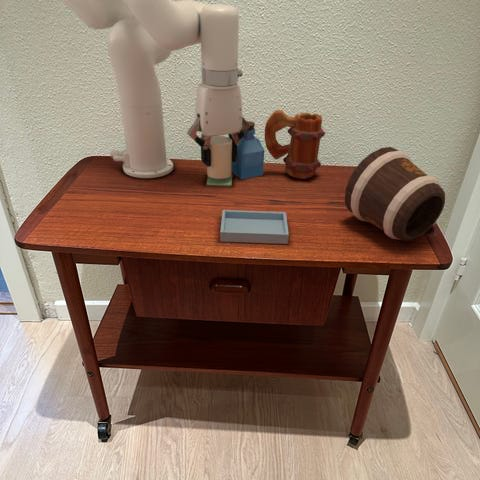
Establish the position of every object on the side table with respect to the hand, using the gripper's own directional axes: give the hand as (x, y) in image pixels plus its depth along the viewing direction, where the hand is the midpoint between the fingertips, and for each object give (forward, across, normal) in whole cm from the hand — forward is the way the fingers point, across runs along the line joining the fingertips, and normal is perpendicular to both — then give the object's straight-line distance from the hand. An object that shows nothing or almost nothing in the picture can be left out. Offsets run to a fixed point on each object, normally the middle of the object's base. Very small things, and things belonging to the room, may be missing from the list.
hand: (219, 161), depth 101 cm
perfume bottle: (+5, -8, -1) cm, 10 cm away
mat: (+5, 0, 0) cm, 5 cm away
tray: (+5, +5, +25) cm, 26 cm away
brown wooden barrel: (-2, -23, +29) cm, 37 cm away
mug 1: (+5, -18, +4) cm, 19 cm away
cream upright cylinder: (+3, 0, 0) cm, 3 cm away
